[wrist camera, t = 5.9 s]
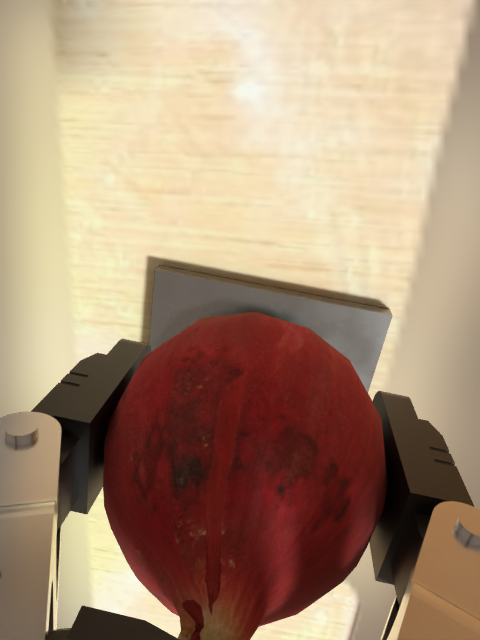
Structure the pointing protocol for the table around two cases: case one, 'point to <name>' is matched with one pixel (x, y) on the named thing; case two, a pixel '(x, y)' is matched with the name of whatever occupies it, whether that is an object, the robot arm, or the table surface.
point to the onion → (243, 473)
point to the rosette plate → (268, 313)
